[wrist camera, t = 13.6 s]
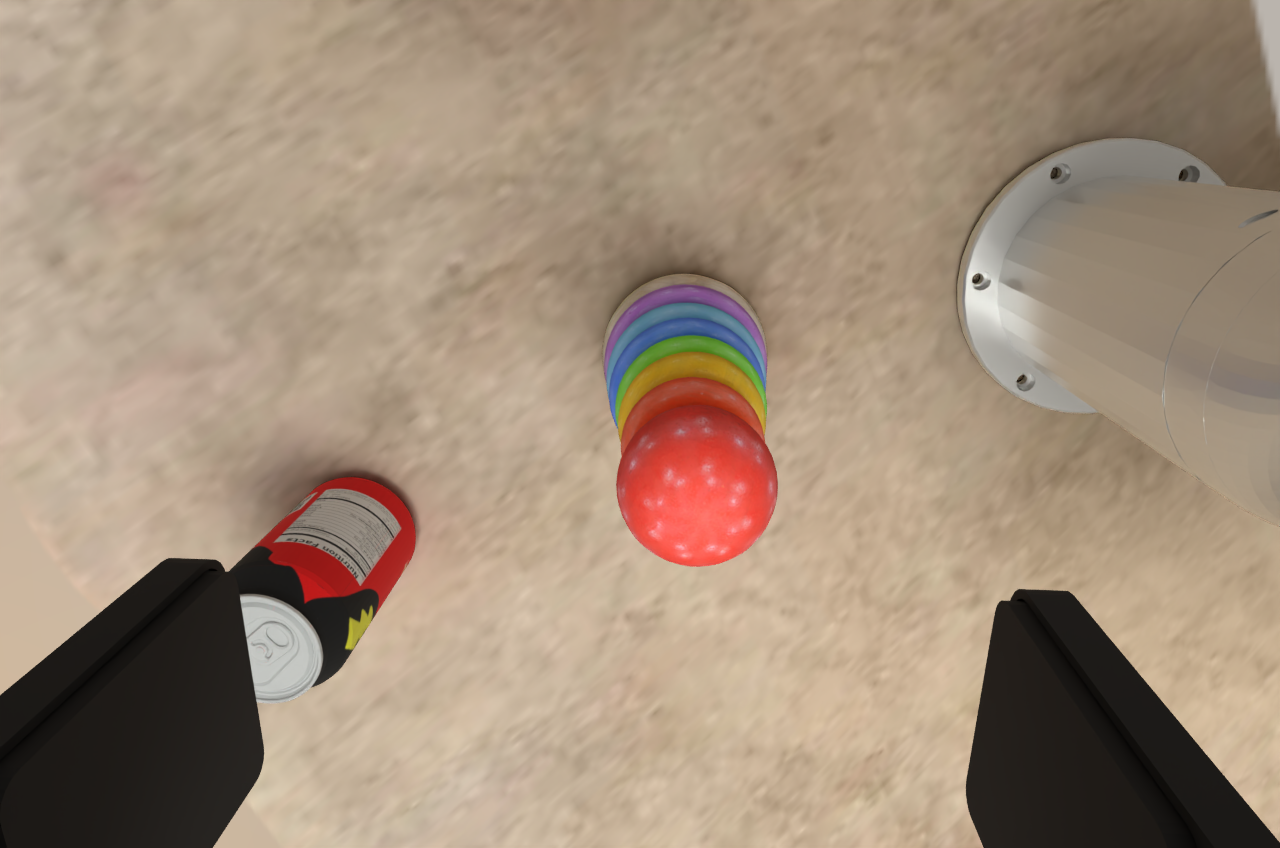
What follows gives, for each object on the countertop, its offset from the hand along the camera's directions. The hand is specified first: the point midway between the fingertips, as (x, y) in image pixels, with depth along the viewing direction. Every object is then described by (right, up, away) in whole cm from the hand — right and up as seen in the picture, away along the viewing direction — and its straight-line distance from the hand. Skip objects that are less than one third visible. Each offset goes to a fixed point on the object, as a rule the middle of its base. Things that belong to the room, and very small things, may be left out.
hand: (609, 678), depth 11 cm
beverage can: (-15, -2, +36) cm, 39 cm away
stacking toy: (+3, +7, +32) cm, 33 cm away
